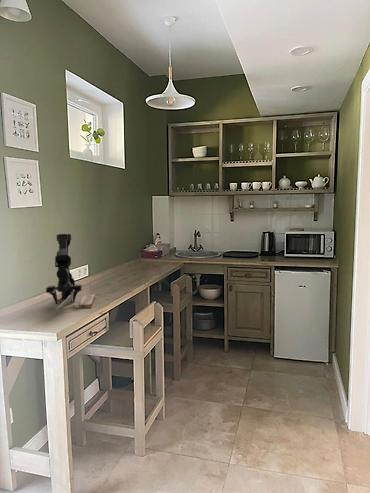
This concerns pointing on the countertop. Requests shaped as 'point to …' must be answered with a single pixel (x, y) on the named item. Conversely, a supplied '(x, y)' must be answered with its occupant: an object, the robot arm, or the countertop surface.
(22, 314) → the countertop surface
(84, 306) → the walnut board
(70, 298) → the caliper
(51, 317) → the countertop surface
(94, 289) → the countertop surface
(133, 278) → the countertop surface
